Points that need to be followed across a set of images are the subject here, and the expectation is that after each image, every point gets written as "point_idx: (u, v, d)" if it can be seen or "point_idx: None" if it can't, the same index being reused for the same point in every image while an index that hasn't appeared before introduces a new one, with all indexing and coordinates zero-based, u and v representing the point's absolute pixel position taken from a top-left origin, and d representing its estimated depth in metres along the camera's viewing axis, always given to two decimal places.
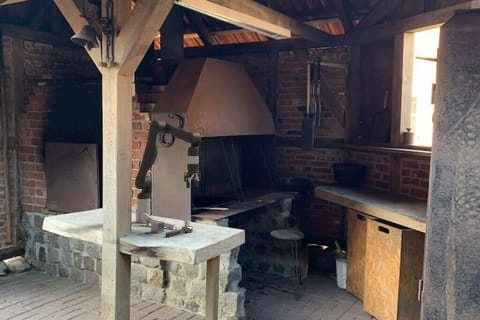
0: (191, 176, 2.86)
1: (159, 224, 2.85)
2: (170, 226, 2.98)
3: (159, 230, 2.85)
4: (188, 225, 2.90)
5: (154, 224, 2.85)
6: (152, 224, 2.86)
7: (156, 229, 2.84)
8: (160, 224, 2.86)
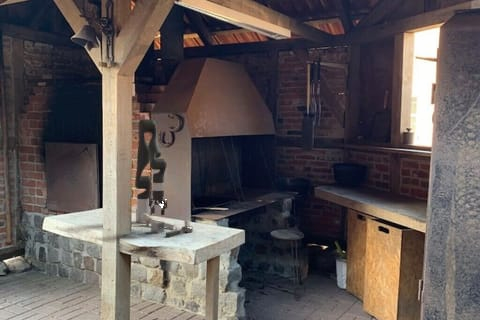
0: (163, 202, 2.86)
1: (159, 224, 2.85)
2: (170, 226, 2.98)
3: (159, 230, 2.85)
4: (188, 225, 2.90)
5: (154, 224, 2.85)
6: (152, 224, 2.86)
7: (156, 229, 2.84)
8: (160, 224, 2.86)
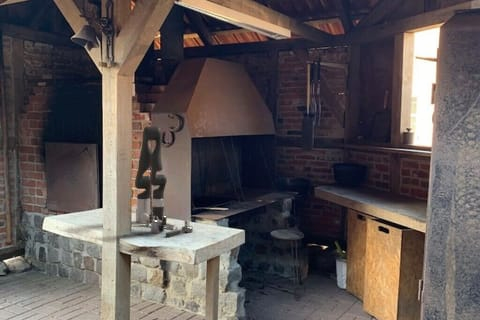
0: (162, 219, 2.87)
1: (159, 224, 2.85)
2: (170, 226, 2.98)
3: (159, 230, 2.85)
4: (188, 225, 2.90)
5: (154, 224, 2.85)
6: (152, 224, 2.86)
7: (156, 229, 2.84)
8: None
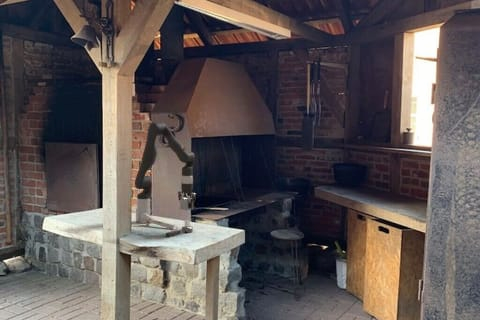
0: (191, 196, 2.89)
1: (188, 201, 2.86)
2: (170, 226, 2.98)
3: (188, 207, 2.86)
4: (188, 225, 2.90)
5: (183, 201, 2.87)
6: (181, 201, 2.88)
7: (185, 206, 2.86)
8: None
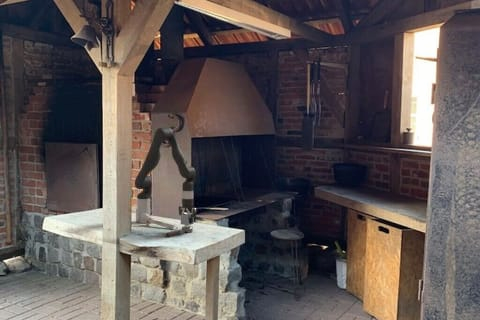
0: (192, 211, 2.90)
1: (189, 216, 2.87)
2: (170, 226, 2.98)
3: (189, 222, 2.88)
4: (188, 225, 2.90)
5: (184, 216, 2.88)
6: (182, 216, 2.89)
7: (186, 221, 2.87)
8: None
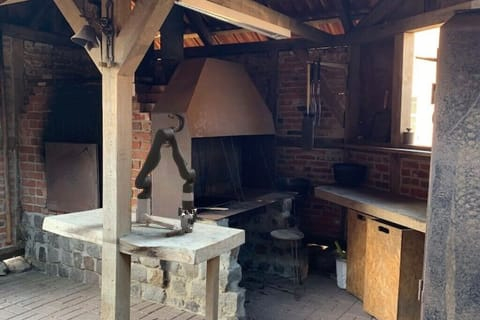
0: (192, 212, 2.90)
1: (189, 219, 2.87)
2: (170, 226, 2.98)
3: (189, 225, 2.88)
4: None
5: (184, 219, 2.88)
6: (182, 219, 2.89)
7: (186, 224, 2.87)
8: (190, 219, 2.88)
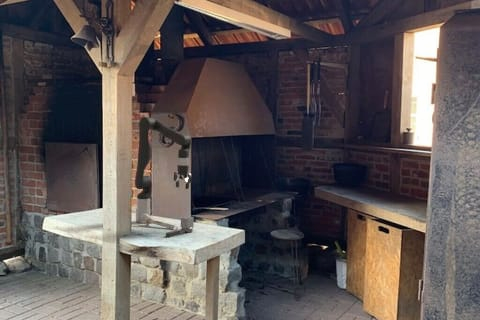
0: (187, 177, 2.99)
1: (189, 219, 2.87)
2: (171, 226, 2.97)
3: (189, 225, 2.88)
4: None
5: (184, 219, 2.88)
6: (182, 219, 2.89)
7: (186, 224, 2.87)
8: (190, 219, 2.88)
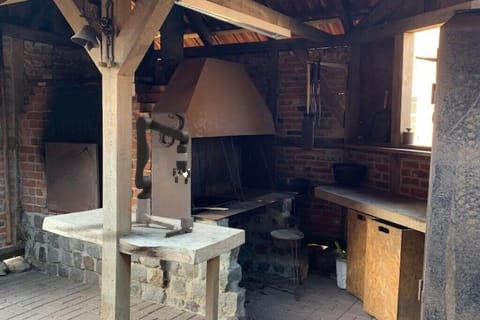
0: None
1: (189, 219, 2.87)
2: (171, 226, 2.97)
3: (189, 225, 2.88)
4: None
5: (184, 219, 2.88)
6: (182, 219, 2.89)
7: (186, 224, 2.87)
8: (190, 219, 2.88)
